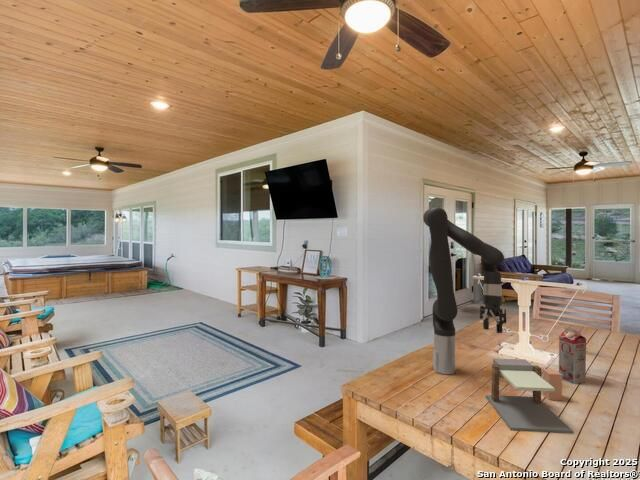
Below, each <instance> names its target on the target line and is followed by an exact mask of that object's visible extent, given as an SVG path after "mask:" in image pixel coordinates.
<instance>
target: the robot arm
mask: <svg viewBox="0 0 640 480" xmlns="http://www.w3.org/2000/svg"><path fill="white" fill-rule="evenodd" d="M422 218H423V223H424V224H425V225H426V226H427V227H428V228H429V233H430V245H429V246H430V248H429V269H430V274H431V278H432V280H433V283H434V286H435V290H436V296H437V299H436V300H435V301H434V302H433V304H432V326H433V336H434V337H433V345H434V346H433V347H432V368H433V370H434V372H435V373H437V374H441V375H442V374H443V375H453V374H455V373H456V327H455V325H454V320H455V319H456V318H457V315H458V306H457V305H458V304H457V300H456V297H455V291H454V281H453V280H454V279H453V277H454V276H453V266H452V265H453V264H452V256H451V252H450V251H451V250H450V242H449V238H450V239H452V240H453V241H454V242H455V243H457V244H458V245H460V246H461V247H463V248H464V249H465V250H467V251H468V252H470V253H471V254H473V255H475V256H479V257H480V264H481V269H482V271H483V272H482V273H483V288H482V291H483V293H482V295H483V296H482V300H483V301H482V304H483V305H480V307H479V319H481V321H482V326H483V330H487V331H488V330H489V329H490V323H489V322H490V321H489V320H490V319H491V318H493V320H495V322H496V324H495V325H496V333H497V334H502V333H503V325H504V324H507V309H505V308H501V306H502V305H503V294H502V293H503V289H502V273H501V272H500V271H499V270H498V269H497V266H499V265H501V264H503V262H504V261H505V256H504V254H503V252H502V250H500V249H498V248H496V247H495V246H493V245H490V244H488V243H486V242H485V241H483V240H481V239H480V238H478V237H477V236H475V235H474V234H473V233H471V232H469V231H467V230H465V229H464V228H462V227H460V226H458V225H456V224H455V223H453V222H451V220H449V219H448V213H447V212H446V210H445V209H444V208H442V207H440V206H439V207H438V206H436V207H431V208H428V209H427V210H425V212H424V213H423V215H422Z"/></svg>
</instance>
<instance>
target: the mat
mask: <svg viewBox="0 0 640 480" xmlns="http://www.w3.org/2000/svg"><path fill="white" fill-rule="evenodd" d="M484 397H485V398H486V399H487V401H488V403H489V404H490V405H491V406H492V407H493V409H494V411H496V413H497V414H498V415H499V417H500V418H501V419H502V421H503V422H504V424H505V425H506V426H507V427H508V428H509V430H510V431H522V432H541V433H542V432H544V433H545V432H546V433H547V432H548V433H565V434H573V433H574V430H573V429H572V428H571V427H570V426H569V425H568V424H567V423H566V422H565V421H563V420H562V419H561V418H560V417H559V416H558V415H557V414H556V413H555V412H554V411H553V410H552V409H551V408H550V407H549V406H547V405H546V404H545V403H544V402H543V401H542V400H541V404H536V403H535V402H534V401H533V396H525V395H524V396H522V395H501V394H499V402H494V401H493V400H492V399H491V394H485V396H484Z"/></svg>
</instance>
